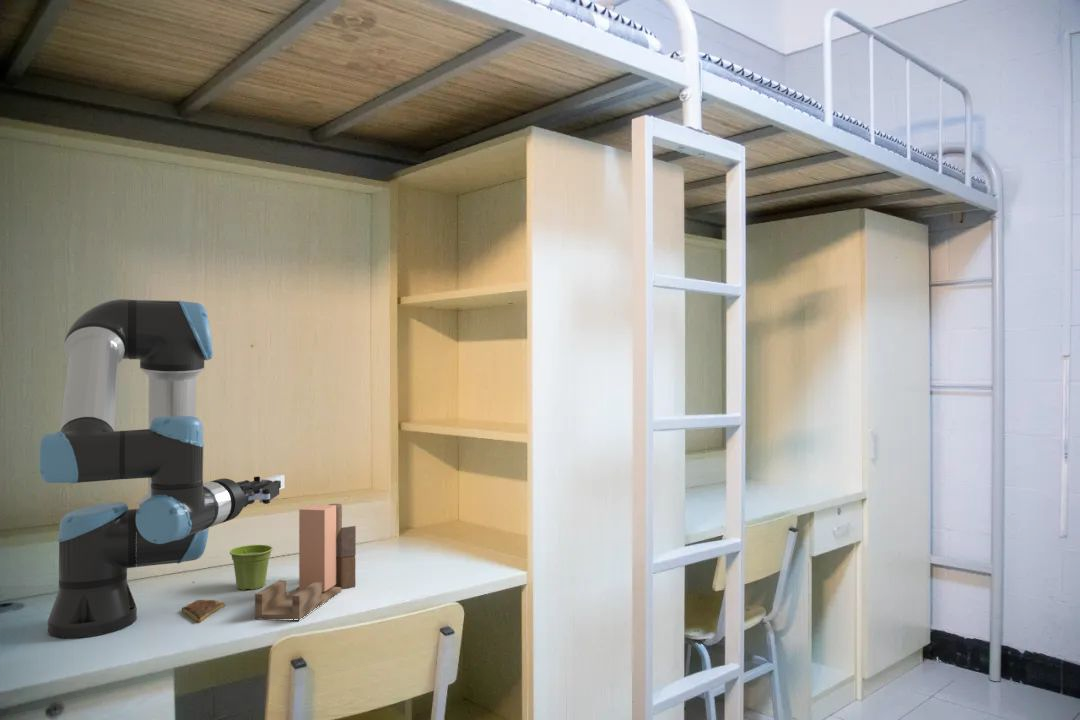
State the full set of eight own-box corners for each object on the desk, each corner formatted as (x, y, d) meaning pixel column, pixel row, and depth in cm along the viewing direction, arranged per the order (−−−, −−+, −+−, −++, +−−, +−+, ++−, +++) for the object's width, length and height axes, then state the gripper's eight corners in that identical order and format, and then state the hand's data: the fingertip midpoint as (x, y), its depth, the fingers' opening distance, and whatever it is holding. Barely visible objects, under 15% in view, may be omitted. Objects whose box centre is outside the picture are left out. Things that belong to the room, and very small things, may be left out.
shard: (199, 626, 149) (199, 617, 149) (163, 625, 149) (163, 616, 149) (226, 608, 160) (227, 600, 160) (192, 607, 160) (192, 599, 160)
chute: (299, 621, 150) (299, 596, 150) (255, 618, 151) (255, 594, 151) (341, 591, 170) (341, 569, 170) (301, 589, 171) (301, 568, 171)
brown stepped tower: (341, 589, 171) (341, 511, 171) (323, 579, 180) (323, 504, 180) (356, 586, 173) (356, 509, 174) (338, 576, 182) (338, 502, 182)
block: (324, 591, 165) (324, 510, 165) (299, 590, 166) (299, 509, 166) (336, 584, 171) (336, 505, 171) (311, 582, 172) (311, 504, 172)
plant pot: (281, 584, 175) (281, 547, 175) (245, 595, 167) (245, 556, 167) (256, 578, 180) (256, 542, 180) (220, 588, 173) (220, 550, 173)
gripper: (178, 523, 130) (251, 498, 153) (248, 526, 128) (311, 500, 151) (178, 480, 130) (251, 462, 153) (248, 482, 128) (311, 463, 151)
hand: (281, 481), depth 152 cm, fingers closed
